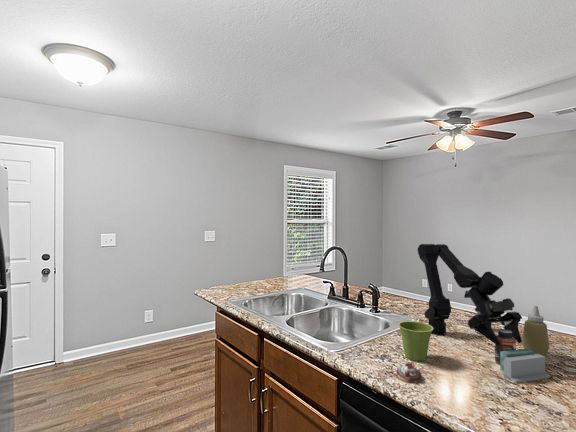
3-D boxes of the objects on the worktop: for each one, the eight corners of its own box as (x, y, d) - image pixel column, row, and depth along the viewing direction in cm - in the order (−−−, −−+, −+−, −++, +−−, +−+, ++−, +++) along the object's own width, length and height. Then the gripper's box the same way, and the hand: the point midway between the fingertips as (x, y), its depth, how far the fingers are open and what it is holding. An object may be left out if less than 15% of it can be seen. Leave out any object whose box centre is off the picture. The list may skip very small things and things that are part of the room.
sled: (478, 361, 114) (478, 341, 114) (503, 358, 117) (503, 339, 117) (506, 375, 103) (507, 354, 103) (533, 372, 106) (533, 351, 106)
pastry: (406, 385, 97) (406, 368, 97) (390, 374, 104) (390, 358, 104) (427, 381, 100) (427, 364, 100) (410, 370, 107) (410, 355, 107)
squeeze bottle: (516, 350, 123) (516, 303, 123) (536, 350, 124) (536, 303, 124) (534, 359, 115) (534, 309, 115) (555, 359, 116) (555, 309, 116)
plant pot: (431, 353, 120) (431, 322, 120) (434, 367, 109) (435, 333, 109) (397, 348, 124) (398, 319, 124) (397, 361, 113) (398, 329, 113)
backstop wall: (503, 376, 102) (504, 357, 102) (537, 372, 106) (537, 353, 106) (515, 383, 99) (515, 363, 99) (550, 377, 102) (550, 358, 102)
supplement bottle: (520, 367, 107) (520, 333, 107) (503, 368, 107) (503, 334, 107) (506, 360, 113) (506, 327, 113) (490, 360, 112) (490, 327, 113)
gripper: (474, 291, 111) (503, 335, 100) (517, 289, 116) (548, 330, 105) (457, 308, 119) (481, 350, 108) (497, 305, 123) (525, 345, 113)
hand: (510, 343), depth 108 cm, fingers open, 9 cm apart
